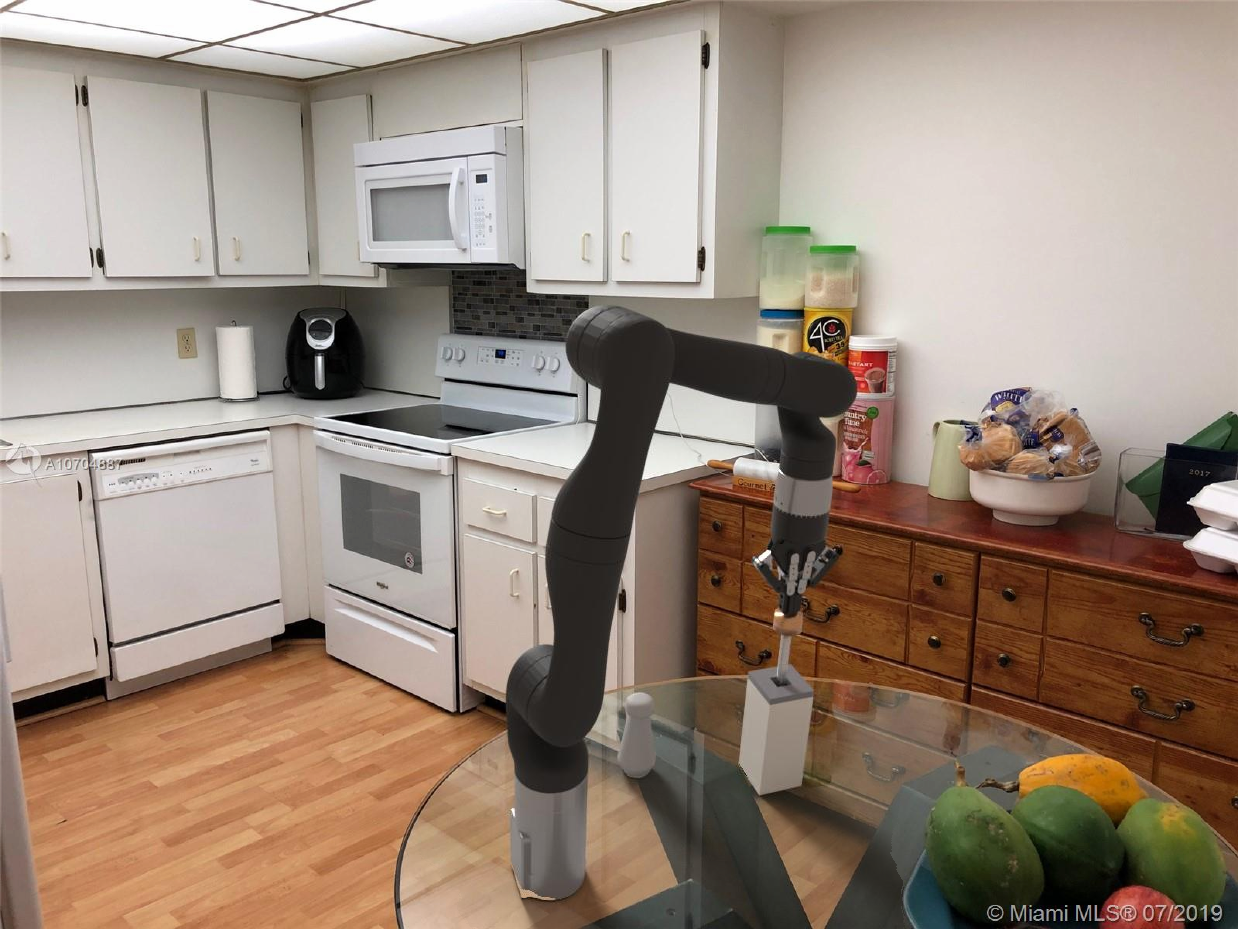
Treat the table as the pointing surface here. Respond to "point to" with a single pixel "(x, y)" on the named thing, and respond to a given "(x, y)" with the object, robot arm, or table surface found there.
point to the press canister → (775, 730)
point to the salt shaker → (637, 736)
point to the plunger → (785, 640)
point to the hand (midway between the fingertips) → (788, 613)
